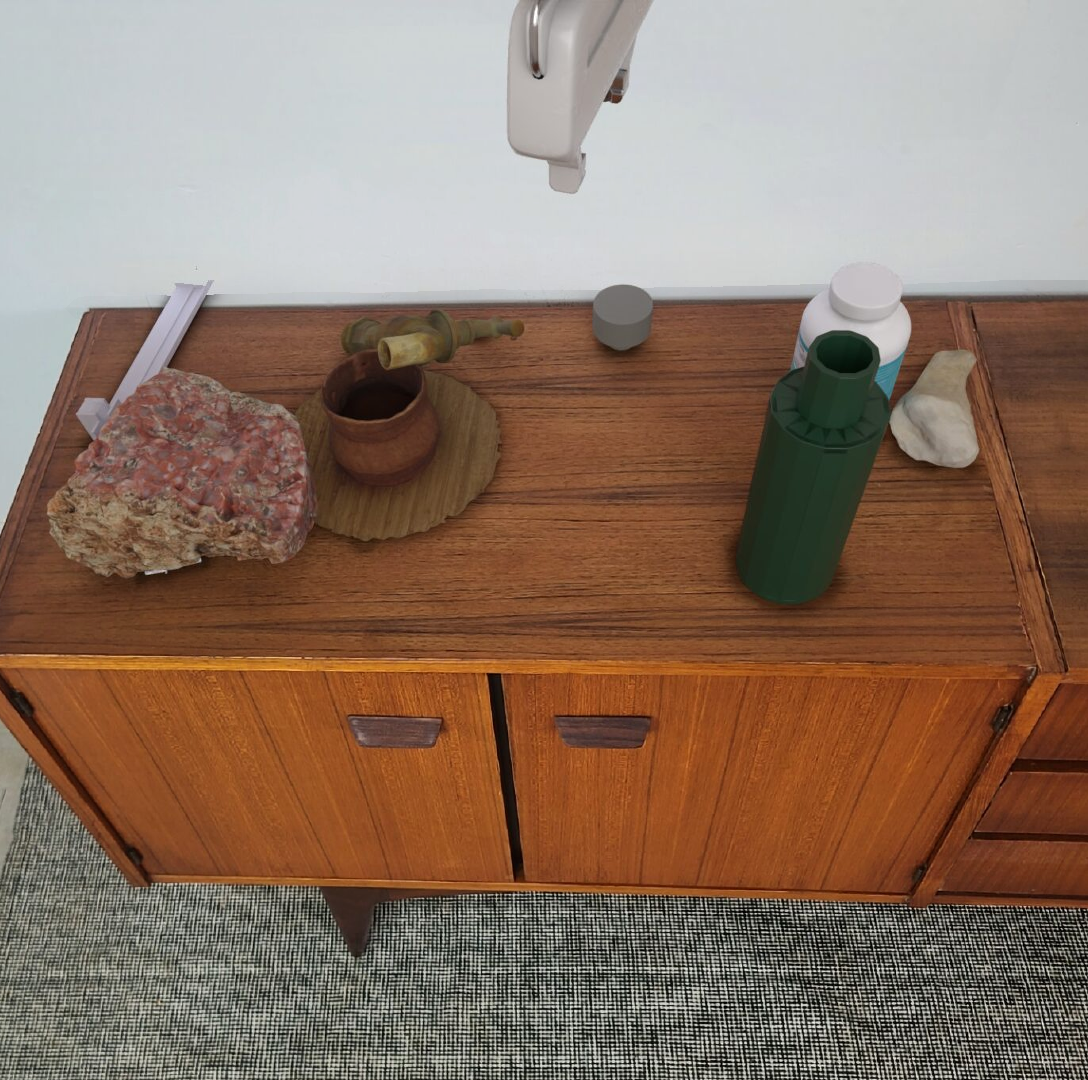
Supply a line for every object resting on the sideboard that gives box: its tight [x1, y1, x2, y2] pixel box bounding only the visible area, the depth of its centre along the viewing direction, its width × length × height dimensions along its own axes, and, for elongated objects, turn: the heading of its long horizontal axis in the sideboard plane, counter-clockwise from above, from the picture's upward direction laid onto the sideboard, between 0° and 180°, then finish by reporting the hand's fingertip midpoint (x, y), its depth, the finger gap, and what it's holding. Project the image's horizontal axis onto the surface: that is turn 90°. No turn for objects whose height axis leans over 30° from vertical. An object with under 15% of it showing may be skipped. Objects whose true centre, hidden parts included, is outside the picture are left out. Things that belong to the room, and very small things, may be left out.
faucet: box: [340, 308, 525, 370], centre depth 85 cm, size 15×4×15 cm
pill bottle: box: [789, 261, 912, 400], centre depth 77 cm, size 8×7×14 cm
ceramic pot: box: [293, 349, 502, 542], centre depth 81 cm, size 18×18×7 cm
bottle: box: [735, 330, 892, 606], centre depth 68 cm, size 7×7×20 cm
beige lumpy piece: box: [888, 349, 980, 469], centre depth 81 cm, size 11×6×5 cm, turn 167°
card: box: [144, 557, 202, 576], centre depth 80 cm, size 9×3×1 cm, turn 112°
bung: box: [592, 283, 654, 351], centre depth 88 cm, size 5×5×4 cm
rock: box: [46, 367, 318, 579], centre depth 77 cm, size 17×10×15 cm
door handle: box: [75, 266, 215, 441], centre depth 90 cm, size 21×3×3 cm
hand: (590, 139), depth 65 cm, fingers open, 8 cm apart
